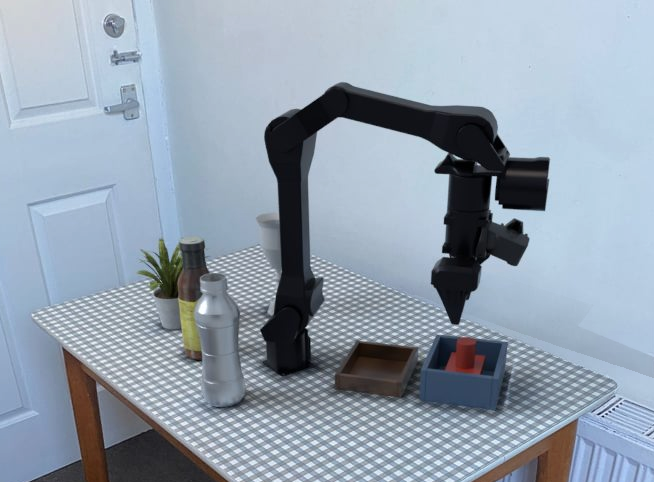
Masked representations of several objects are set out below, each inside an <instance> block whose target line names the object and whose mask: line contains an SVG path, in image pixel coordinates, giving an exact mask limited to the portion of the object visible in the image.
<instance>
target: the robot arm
mask: <svg viewBox="0 0 654 482" xmlns="http://www.w3.org/2000/svg"><path fill="white" fill-rule="evenodd" d="M338 118H339V119H341V118H342V119H347V120H350V121H355V122H358V123H362V124H366V125H370V126H374V127H377V128H382V129H386V130H389V131H394V132H397V133H400V134H401V133H402V134H405V135H410V136H414V137H417V138H421V139H422V140H425V141H427V142H428V143H430V144H432V145H433V146H435V147H437V148H438V149H440V150H441V151H444V152H446V153H447V154H446V155H445V157H444V159H443V160H441V161H440V162H439V163H438V164H437V165H436V166H435V168H434V170H433V171H434V174H436V175H448V188H447V200H446V202H447V203H446V213H445V214H444V216H443V225H444V226H445V235H444V236H445V237H444V242H443V244H442V246H441V254H448V255H449V256H442V257H441V258H440V259H438V261H436V262H435V263H434V265H433V267H432V269H431V272H430V285H431V286H432V287H433V288H434V289H435V291H436V292H437V294H438V297H439V299H440V301H441V303H442V305H443V307H444V309H445V310H444V311H445V312H446V315H447V317H448V319H449V322H450V324H452V325H454V326H455V325H457V326H458V325H460V322H461V319H462V316H463V312H464V309H465V304H466V302H467V301H469V300H470V298H471V295H472V292H475V291H476V290H477V289H478V288H479V285H480V282H481V278H482V268H483V267H482V264H483V263H484V262H486V261H487V260H488V259H489V258H491V256H493V257H494V258H497V259H499V260H501V261H504V262H506V264H507V265H509V266H512V267H518V266H519V264H520V262H521V260H522V258H523V256H524V254H525V252H526V251H527V248H528V247H529V243H530V237H529V234H528V233H524V222H523V221H522V220H519V219H517V218H511V220H509V221H508V222H507V223H506V224H505V223H503V222H502V223H497V222H494V221H493V216H494V213H493V212H492V209H490V206H491V194H492V183H493V177H496V178H495V179H496V181H495V189H494V201H495V202H497V203H498V205H499V206H501V209H502V210H513V211H515V210H517V211H532V212H534V211H535V212H546V208H547V202H548V194H549V185H550V178H549V172H550V163H551V158H550V157H548V156H537V157H516V156H515V157H513V156H511V152H510V151H509V150H508V148H507V146H506V145H505V143H504V142H503V140H502V138H501V137H500V136H499V134H498V131H499V125H498V120H497V119H496V116H495V115H494V113H493V112H492V111H491V110H490V109H488V108H486V107H485V106H479V105H461V104H456V105H455V104H454V105H452V104H451V105H431V104H428V103H423V102H419V101H415V100H411V99H407V98H402V97H399V96H394V95H391V94H387V93H383V92H379V91H375V90H374V91H373V90H371V89H367V88H362V87H359V86H354V85H352V84H351V83H349V82H346V81H345V82H344V81H340V82H338V83H335V84H334V85H332V86H330V87H329V88H328V89H326V90H325V91H324V93H323V94H321V95H320V96H318V97H317V98H315V99H314V100H313V101H311V102H310V103H308V104H307V105H306V106H304V107H303V108H292V109H289V110H287V111H285V112H284V113H282V114H280V115H279V116H277V117H274V118H273V119H271V121H270V122H269V123H268V124H267V126H266V127H265V129H264V133H263V134H264V135H263V138H264V139H263V141H264V145H265V150H266V154H267V160H268V163H269V165H270V167H271V170H272V172H273V174H274V177H275V178H276V183H277V200H278V201H277V203H278V204H277V205H278V212H279V226H280V248H281V278H280V281H279V285H278V289H277V290H276V293H275V297H274V299H275V305H274V314H273V315H272V316H271V315H270V317H269V318H268V319H267V321H266V322H265V323H264V324H263V325H262V327H261V328H260V330H259V332H260V333H261V336H262V338H263V341H264V342H265V352H266V359H264V360H262V364H263V365H264V366H266V367H267V368H268V369H270V370H271V371H273V372H275V374H277V375H278V376H280V377H286V376H289V375H292V374H295V373H299V372H302V371H304V370H307V369H311V368H313V367H315V365H316V364H315V363H314V362H313V361H311V360H312V342H311V340H312V337H311V336H309V330H308V328H307V327H308V325H309V324H310V322H311V321H312V320H313V318H314V317H315V316H316V314H318V312H319V310H320V308H321V306H322V305H323V303H324V302H325V300H326V299H325V297H324V293H323V289H324V288H323V287H324V280H325V279H324V277H315V274H314V272H313V270H312V267H311V237H310V234H311V233H310V203H309V201H310V198H309V174H310V170H311V166H312V162H313V160H314V156H315V150H316V144H317V137H318V132H319V131H321V130H322V129H324V128H325V127H326V126H328V125H329V124H331V123H332V122H333V121H335V120H337V119H338Z"/></svg>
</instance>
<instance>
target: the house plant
mask: <svg viewBox="0 0 654 482" xmlns="http://www.w3.org/2000/svg"><path fill="white" fill-rule="evenodd" d="M183 238H184V237H181V239H183ZM210 249H211V248H209V250H210ZM139 250H140V251H141V253H142V254H144V255H142V256H143V257H144V258H145V259H146V260H142V259H140V258H138V260H139V261H140V263H144V264H145V265H146V266H147V267H148V268H149V269H150V270H152V271H153V272H154V273H155V274H156V275H155V274H154V273H152V272H150V271H148V270H144V269H142V270H138V271H137V272H136V274H137V275H142V276H146V277H148V278H149V279H150V278H151V279H152V280H154V281H149V293H151V292H152V297H153V301H154V304H155V306H156V309H157V313H158V316H159V319H160V321H161V326H162V327H163V328H164V329H166V330H182V327H181V318H180V309H179V300H178V296H179V292H178V285H177V284H178V278H179V275H180V273H181V272H182V269H183V266H182V254H181V252H180V251H181V250H180V246H179V242H178V244H177V245H176V248H175V249H174V250H173V252H172V255H171V259H170V256H169V251H168V248H167V246H166V243H165V240H164V238H163V237H161V238H159V239H158V253H156V252H154V251H152V253H153V254H155V256H156V257H157V258H158V260H159V263H158V262H157V260H156V259H155V258H154V257H153V256H152V255H151V254H150V253H149V252H148V251H145V250H143V249H142V248H139ZM206 250H208V248H205V249H204V251H206ZM210 257H211V255H206V256H205V259H206V258H210ZM148 263H149V264H150V265H151V266H150V265H149V264H148ZM152 266H153V267H152Z"/></svg>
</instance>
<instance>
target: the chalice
mask: <svg viewBox="0 0 654 482" xmlns="http://www.w3.org/2000/svg"><path fill="white" fill-rule="evenodd" d="M255 220H256V222H257V224H258V228H259V229H258V231H259V232H258V233H259V245H260V248H261V250H262V253H263V255H264V257H265V259H266V261H267V262H268V264H269V266H270V267H271V268H273V269H275V276H274V279H275V281H276V285H275V286H274V289H275V290H276V291H277V289H278V285H279V281H280V278H281V273H282V269H281V248H280V226H279V211H277V212H265V213H262V214H259V215H257V216H256V217H255ZM274 305H275V298H272V300H271V301H270V304H269V306H268V309H267V315H269V316H270V317H271V316H272V315H273V314H274Z"/></svg>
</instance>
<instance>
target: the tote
mask: <svg viewBox="0 0 654 482" xmlns="http://www.w3.org/2000/svg"><path fill="white" fill-rule="evenodd" d="M461 337H462V336H455V335H445V334H436V335H435V337H434V339H433V342H432V344H431V346H430V349H429V350H428V353H427V355H426V357H425V360H424V362H423V364H422V366H421V369H420V381H419V382H420V383H419V387H420V388H419V401H420V402H426V403H427V402H428V403H435V404H443V405H448V406H457V407H466V408H472V409H479V410H480V409H481V410H489V411H497V405H498V401H499V397H500V393H501V390H502V385H503V382H504V376H505V373H506V366H507V365H506V364H507V356H508V355H507V354H508V346H509V341H503V340H494V339H483V338H474V337H472V338H473V339H475V340H476V351H475V355H481V356H485V366H484V369H483V374H482V375H479V374H471V373H462V372H454V371H445V369H446V366H447V363H448V361H449V358H450V356H451V353H452V352H454V353H456V348H457V340H458V339H459V338H461Z"/></svg>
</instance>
